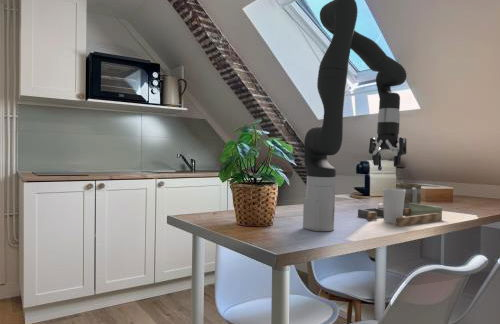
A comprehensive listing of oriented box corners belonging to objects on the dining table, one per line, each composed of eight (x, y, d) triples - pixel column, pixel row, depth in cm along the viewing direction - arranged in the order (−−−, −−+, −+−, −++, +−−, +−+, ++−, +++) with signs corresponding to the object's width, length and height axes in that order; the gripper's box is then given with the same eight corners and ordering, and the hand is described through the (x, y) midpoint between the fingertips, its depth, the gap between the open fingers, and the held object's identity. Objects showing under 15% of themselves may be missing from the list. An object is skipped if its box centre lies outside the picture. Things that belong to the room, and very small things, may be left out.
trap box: (398, 226, 126) (399, 212, 126) (353, 216, 143) (353, 204, 143) (441, 220, 140) (442, 207, 140) (395, 212, 157) (395, 200, 157)
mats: (374, 218, 139) (374, 218, 139) (362, 216, 144) (362, 216, 144) (404, 215, 149) (404, 214, 149) (392, 213, 154) (392, 212, 154)
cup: (406, 224, 130) (407, 191, 130) (383, 223, 131) (384, 190, 131) (402, 220, 138) (403, 188, 137) (379, 219, 139) (381, 187, 139)
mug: (392, 208, 168) (393, 182, 168) (416, 209, 167) (417, 183, 166) (400, 213, 153) (401, 185, 152) (428, 215, 151) (429, 186, 151)
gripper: (365, 122, 137) (363, 165, 137) (399, 119, 125) (396, 166, 125) (378, 123, 141) (376, 165, 141) (412, 121, 129) (409, 167, 129)
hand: (386, 166), depth 133 cm, fingers open, 8 cm apart
